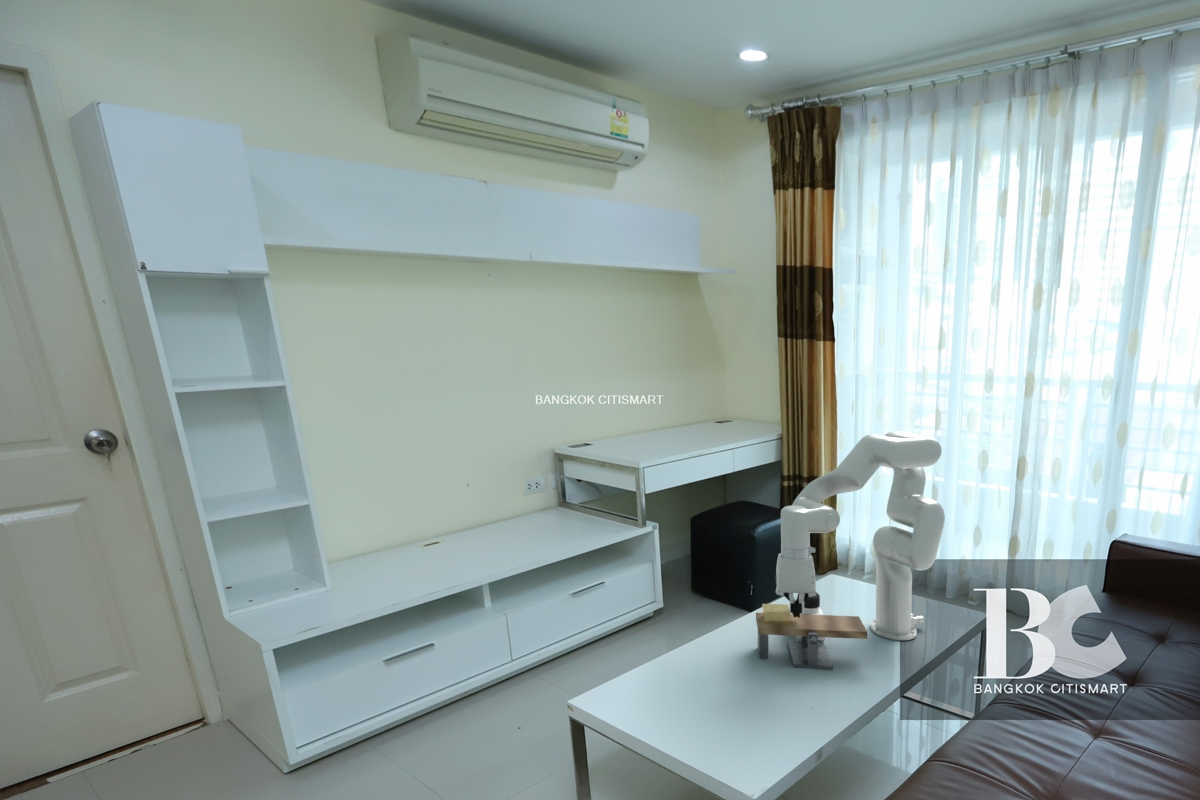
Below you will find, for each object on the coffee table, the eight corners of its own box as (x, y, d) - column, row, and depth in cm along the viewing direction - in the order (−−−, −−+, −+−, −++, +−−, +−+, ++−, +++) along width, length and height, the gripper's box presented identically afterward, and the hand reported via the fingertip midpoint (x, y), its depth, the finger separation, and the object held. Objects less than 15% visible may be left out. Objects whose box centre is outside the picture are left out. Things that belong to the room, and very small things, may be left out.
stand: (823, 644, 171) (823, 613, 170) (833, 671, 158) (833, 636, 157) (756, 641, 175) (756, 609, 174) (760, 666, 161) (760, 632, 160)
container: (817, 628, 181) (818, 587, 180) (824, 641, 174) (825, 598, 172) (791, 627, 182) (791, 586, 181) (797, 640, 174) (797, 597, 173)
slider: (788, 616, 168) (788, 604, 168) (790, 624, 163) (790, 612, 163) (762, 615, 170) (762, 603, 169) (764, 623, 165) (764, 611, 164)
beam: (858, 623, 167) (858, 616, 166) (867, 639, 158) (867, 631, 158) (756, 619, 172) (755, 612, 172) (758, 634, 163) (758, 627, 163)
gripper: (821, 547, 166) (821, 610, 168) (766, 546, 168) (766, 608, 170) (826, 556, 158) (827, 622, 160) (768, 555, 161) (769, 620, 163)
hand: (796, 615), depth 165 cm, fingers closed
